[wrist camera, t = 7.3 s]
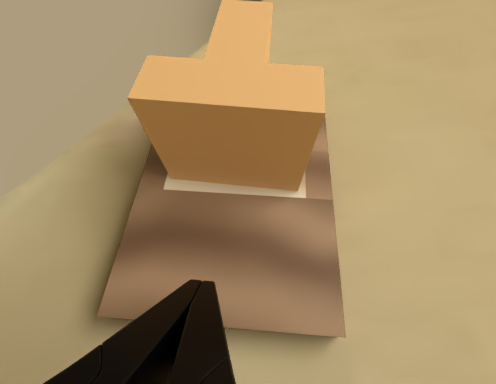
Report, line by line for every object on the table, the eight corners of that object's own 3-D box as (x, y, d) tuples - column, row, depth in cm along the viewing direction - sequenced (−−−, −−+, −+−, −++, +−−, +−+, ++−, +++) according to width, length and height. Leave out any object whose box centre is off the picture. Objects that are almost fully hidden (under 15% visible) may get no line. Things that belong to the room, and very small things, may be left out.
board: (338, 336, 16) (345, 337, 15) (108, 317, 17) (96, 316, 15) (318, 102, 26) (322, 90, 24) (175, 95, 26) (171, 83, 25)
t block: (297, 191, 19) (325, 113, 12) (171, 178, 20) (127, 97, 13) (300, 99, 24) (321, 4, 17) (197, 91, 24) (176, -3, 17)
